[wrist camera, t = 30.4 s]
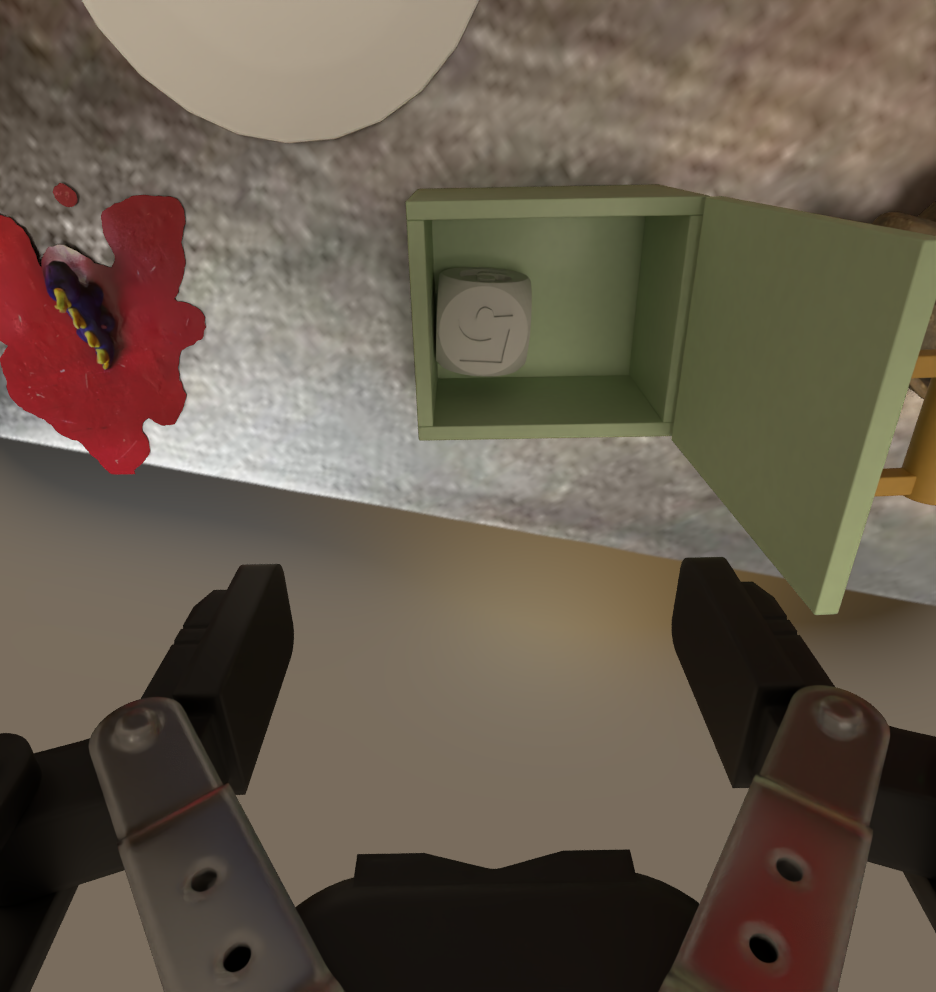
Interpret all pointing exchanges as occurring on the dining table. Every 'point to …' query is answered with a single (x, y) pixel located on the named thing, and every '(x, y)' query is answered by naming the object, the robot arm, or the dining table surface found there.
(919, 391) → the bowl
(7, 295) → the red splat with dinosaur
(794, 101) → the dining table surface
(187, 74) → the plate
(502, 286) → the die
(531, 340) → the chest
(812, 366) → the lid
